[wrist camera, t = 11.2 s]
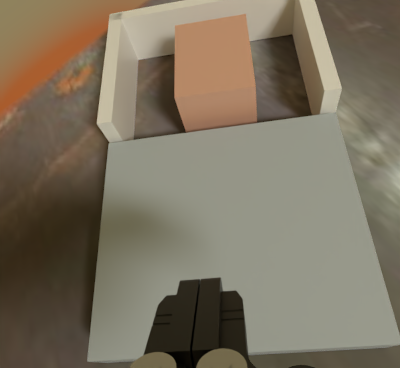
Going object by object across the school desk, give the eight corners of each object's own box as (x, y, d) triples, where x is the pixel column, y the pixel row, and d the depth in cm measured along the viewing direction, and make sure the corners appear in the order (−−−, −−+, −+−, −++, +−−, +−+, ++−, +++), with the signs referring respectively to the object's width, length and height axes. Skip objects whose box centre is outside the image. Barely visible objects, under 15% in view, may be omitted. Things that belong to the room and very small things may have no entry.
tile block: (174, 97, 26) (175, 25, 30) (189, 143, 32) (188, 76, 35) (255, 86, 26) (245, 13, 29) (257, 134, 31) (249, 68, 35)
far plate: (106, 362, 24) (87, 361, 21) (121, 162, 32) (108, 143, 29) (386, 347, 22) (402, 344, 19) (329, 135, 29) (335, 112, 27)
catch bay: (120, 157, 32) (96, 123, 28) (128, 55, 38) (109, 14, 34) (330, 130, 30) (341, 88, 25) (302, 25, 36) (307, -23, 31)
